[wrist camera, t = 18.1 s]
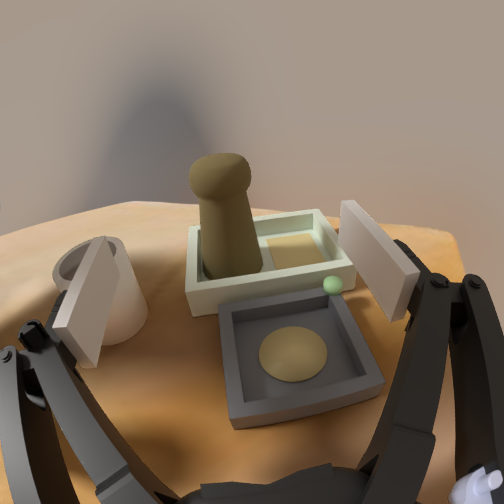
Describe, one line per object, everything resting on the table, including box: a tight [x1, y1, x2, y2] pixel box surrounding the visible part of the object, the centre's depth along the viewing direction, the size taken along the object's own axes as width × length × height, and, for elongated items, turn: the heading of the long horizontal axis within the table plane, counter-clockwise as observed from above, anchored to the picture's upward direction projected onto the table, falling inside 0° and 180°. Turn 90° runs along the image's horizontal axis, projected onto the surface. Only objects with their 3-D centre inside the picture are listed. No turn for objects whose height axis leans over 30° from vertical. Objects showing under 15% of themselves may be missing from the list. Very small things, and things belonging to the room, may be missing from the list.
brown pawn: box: [189, 153, 263, 280], centre depth 26 cm, size 6×6×11 cm
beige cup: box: [52, 237, 148, 346], centre depth 23 cm, size 7×7×7 cm
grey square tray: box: [218, 276, 386, 430], centre depth 20 cm, size 10×10×3 cm
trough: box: [185, 209, 357, 317], centre depth 29 cm, size 15×11×3 cm
